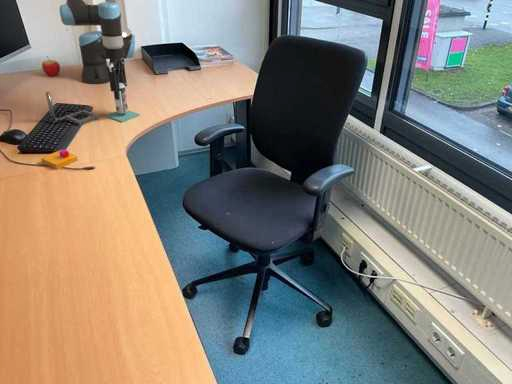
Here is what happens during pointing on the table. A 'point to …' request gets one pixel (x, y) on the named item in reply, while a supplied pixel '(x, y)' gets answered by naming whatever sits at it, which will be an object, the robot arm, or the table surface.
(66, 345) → the table surface
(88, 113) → the square frame with rod
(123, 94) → the beer can
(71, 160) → the orange flat block
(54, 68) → the apple
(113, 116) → the coaster
